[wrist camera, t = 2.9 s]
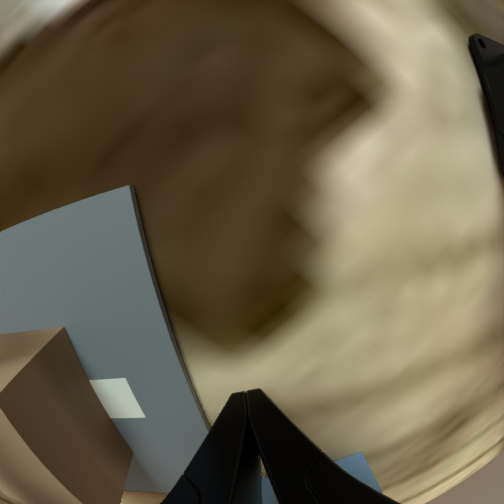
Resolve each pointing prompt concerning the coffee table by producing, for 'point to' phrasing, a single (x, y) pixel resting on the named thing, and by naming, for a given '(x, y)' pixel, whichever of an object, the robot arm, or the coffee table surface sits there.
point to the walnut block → (55, 426)
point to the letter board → (108, 325)
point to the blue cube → (350, 464)
